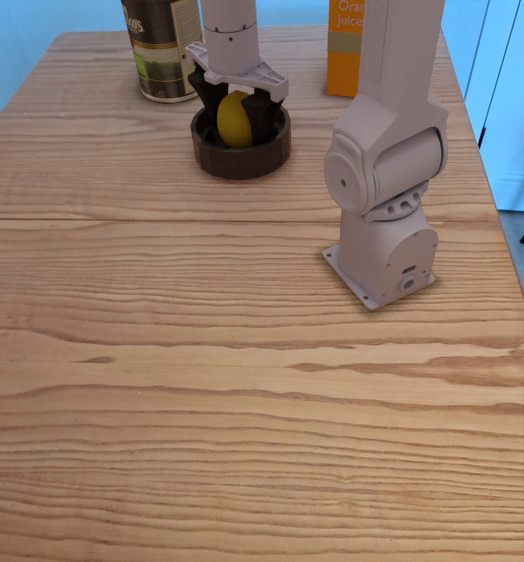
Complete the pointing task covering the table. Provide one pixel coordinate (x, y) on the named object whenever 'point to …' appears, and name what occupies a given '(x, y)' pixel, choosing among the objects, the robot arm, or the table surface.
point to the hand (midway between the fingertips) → (241, 136)
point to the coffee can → (163, 45)
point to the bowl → (240, 150)
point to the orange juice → (344, 46)
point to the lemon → (234, 121)
